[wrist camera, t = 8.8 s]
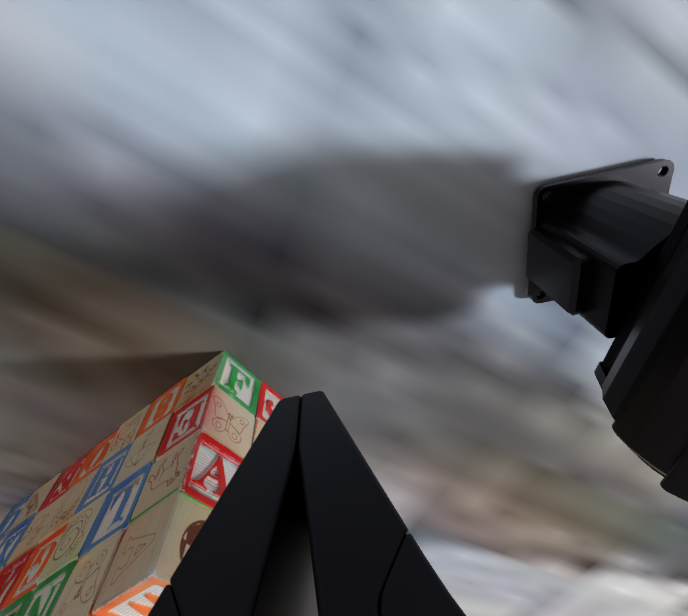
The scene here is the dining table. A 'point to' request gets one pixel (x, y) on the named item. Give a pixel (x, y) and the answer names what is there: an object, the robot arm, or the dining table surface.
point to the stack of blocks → (132, 500)
